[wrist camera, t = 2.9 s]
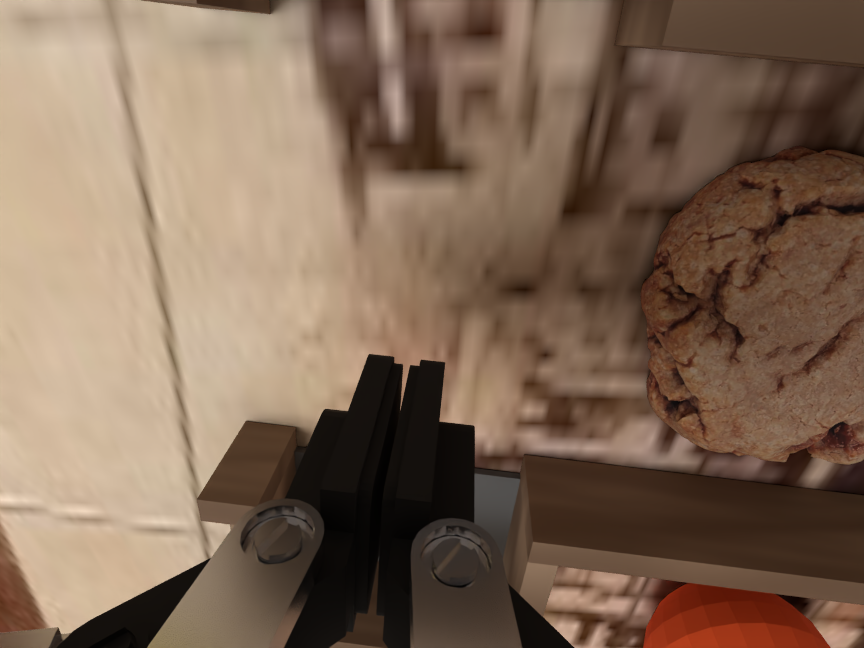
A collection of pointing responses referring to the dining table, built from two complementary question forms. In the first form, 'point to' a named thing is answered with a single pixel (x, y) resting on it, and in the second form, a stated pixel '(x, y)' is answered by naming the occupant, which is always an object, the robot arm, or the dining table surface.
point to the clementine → (728, 621)
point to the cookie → (764, 310)
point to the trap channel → (616, 485)
